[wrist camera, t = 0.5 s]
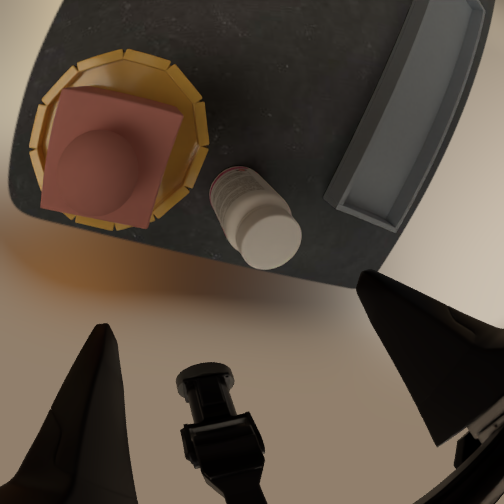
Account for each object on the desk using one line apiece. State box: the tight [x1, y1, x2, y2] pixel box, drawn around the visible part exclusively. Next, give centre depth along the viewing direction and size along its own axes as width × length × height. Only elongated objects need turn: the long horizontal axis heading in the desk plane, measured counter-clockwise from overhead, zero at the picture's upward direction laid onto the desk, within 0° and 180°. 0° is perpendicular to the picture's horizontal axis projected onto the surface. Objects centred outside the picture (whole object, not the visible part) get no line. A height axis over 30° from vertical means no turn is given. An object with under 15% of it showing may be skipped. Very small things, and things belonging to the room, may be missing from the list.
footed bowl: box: [29, 49, 210, 231], centre depth 14 cm, size 8×8×10 cm
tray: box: [323, 0, 486, 233], centre depth 21 cm, size 35×10×2 cm, turn 156°
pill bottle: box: [209, 166, 301, 270], centre depth 21 cm, size 5×5×8 cm
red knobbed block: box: [41, 86, 184, 229], centre depth 9 cm, size 4×4×6 cm
